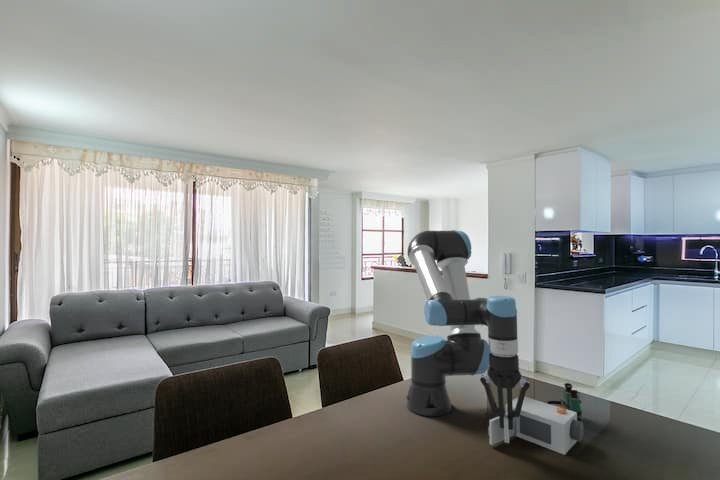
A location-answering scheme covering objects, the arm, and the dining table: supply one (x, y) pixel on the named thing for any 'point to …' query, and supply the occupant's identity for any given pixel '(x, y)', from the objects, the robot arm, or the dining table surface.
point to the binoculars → (570, 401)
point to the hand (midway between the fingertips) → (507, 440)
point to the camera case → (548, 425)
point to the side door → (499, 431)
